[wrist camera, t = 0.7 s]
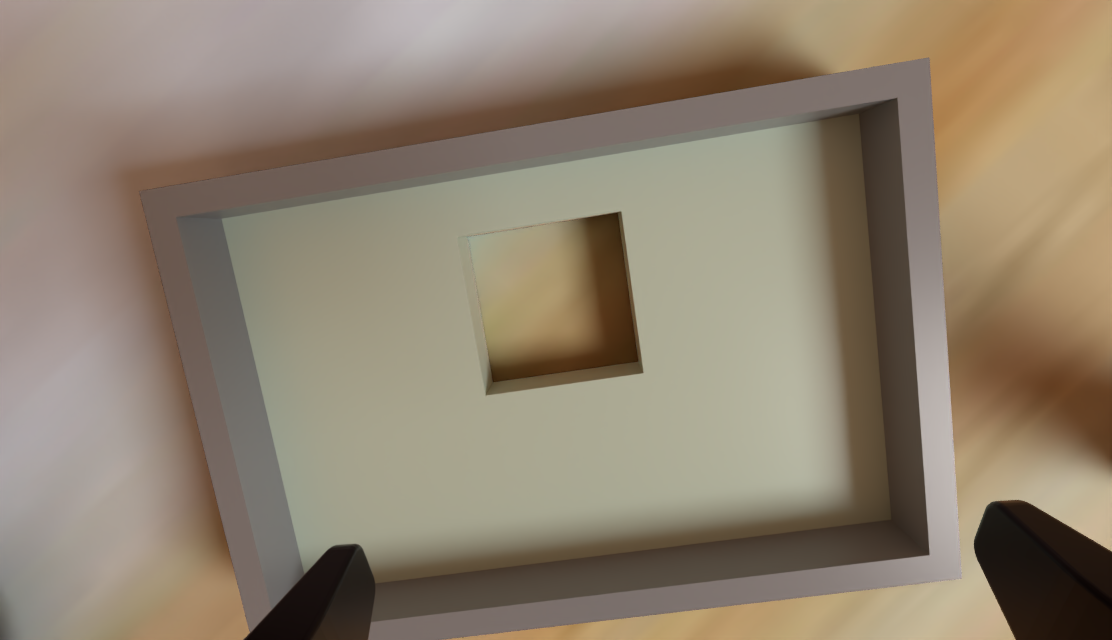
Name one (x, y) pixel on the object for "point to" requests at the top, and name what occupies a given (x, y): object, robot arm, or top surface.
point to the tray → (590, 394)
